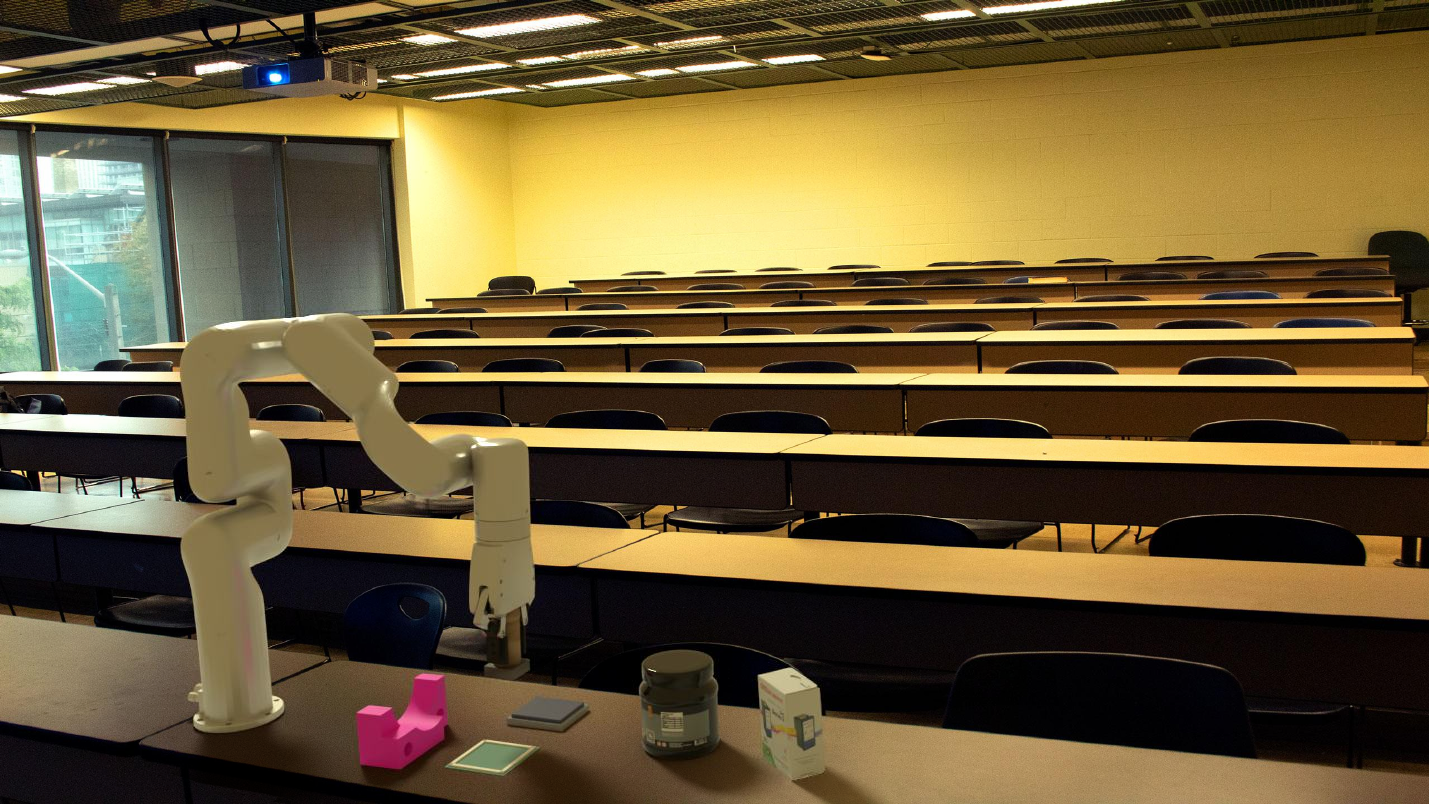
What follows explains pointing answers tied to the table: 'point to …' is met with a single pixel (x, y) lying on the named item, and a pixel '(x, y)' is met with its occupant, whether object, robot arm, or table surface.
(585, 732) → the table surface
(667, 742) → the supplement container
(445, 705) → the toy block
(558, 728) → the ink pad
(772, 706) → the ink box
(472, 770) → the mat
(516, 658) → the stamp
